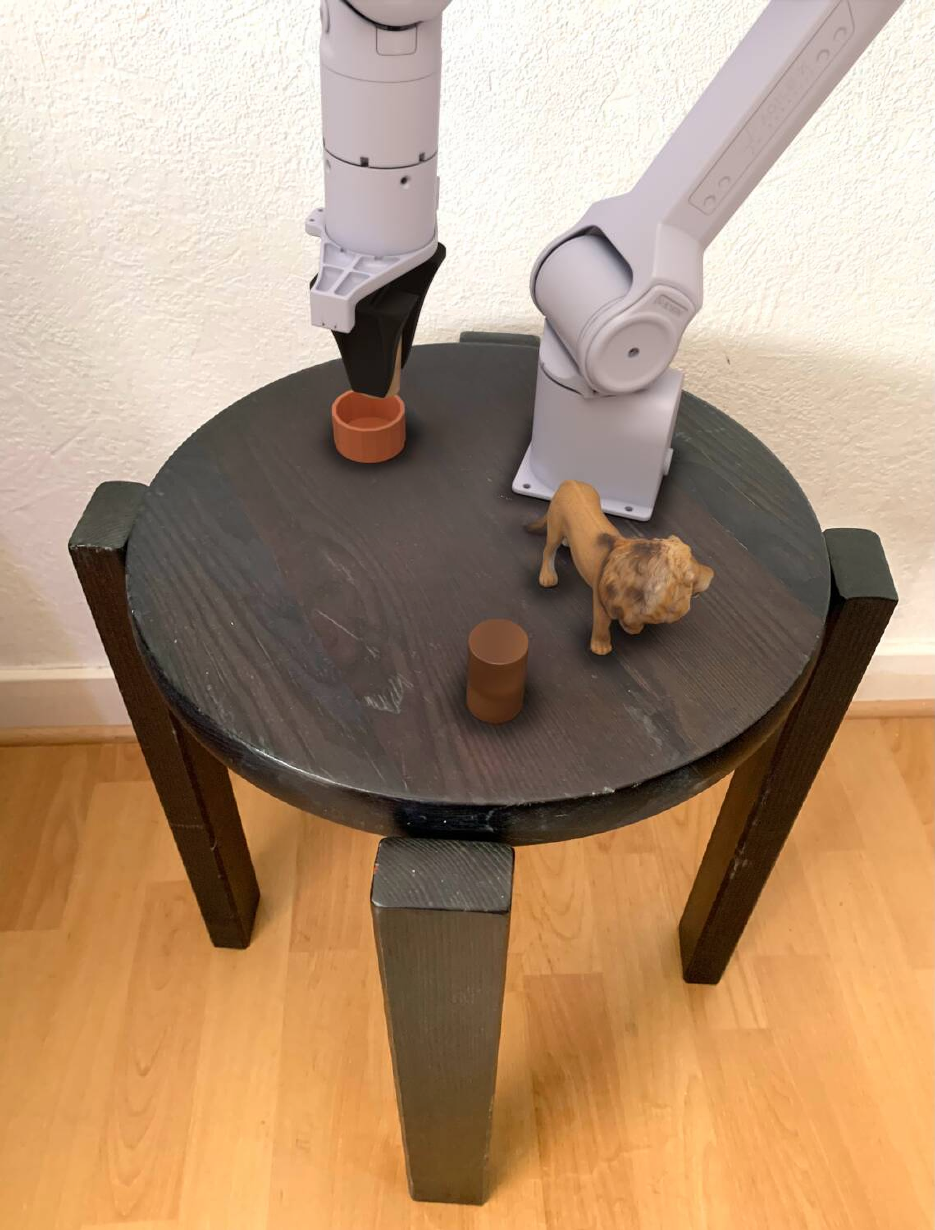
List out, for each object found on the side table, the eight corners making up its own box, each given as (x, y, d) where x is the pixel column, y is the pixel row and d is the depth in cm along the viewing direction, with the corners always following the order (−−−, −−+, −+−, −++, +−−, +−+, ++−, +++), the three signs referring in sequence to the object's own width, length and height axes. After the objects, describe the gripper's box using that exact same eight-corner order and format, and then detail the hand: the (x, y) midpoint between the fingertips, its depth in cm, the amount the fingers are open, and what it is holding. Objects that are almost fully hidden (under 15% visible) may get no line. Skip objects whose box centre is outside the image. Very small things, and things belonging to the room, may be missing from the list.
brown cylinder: (529, 687, 59) (535, 626, 56) (514, 730, 57) (519, 670, 54) (475, 673, 60) (478, 612, 56) (458, 715, 58) (460, 655, 54)
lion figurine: (703, 661, 61) (736, 550, 54) (633, 700, 59) (658, 590, 52) (553, 516, 69) (566, 405, 62) (487, 546, 67) (493, 434, 60)
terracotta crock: (415, 427, 75) (414, 395, 73) (391, 469, 72) (389, 437, 70) (350, 413, 76) (348, 381, 74) (323, 454, 73) (320, 422, 71)
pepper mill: (406, 380, 63) (408, 305, 59) (391, 403, 61) (393, 328, 57) (365, 370, 63) (365, 296, 60) (350, 394, 61) (348, 318, 58)
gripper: (357, 79, 57) (359, 302, 67) (243, 189, 47) (265, 430, 57) (480, 102, 56) (464, 325, 66) (389, 219, 46) (386, 460, 56)
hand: (379, 376), depth 62 cm, fingers closed on pepper mill, 2 cm apart
